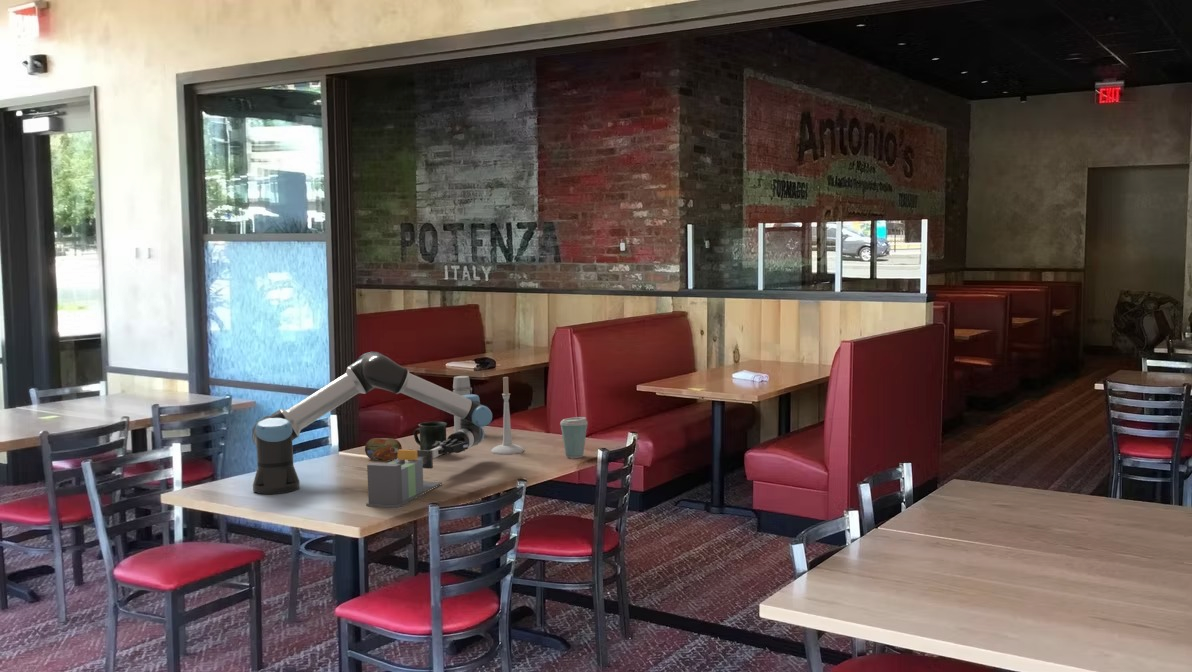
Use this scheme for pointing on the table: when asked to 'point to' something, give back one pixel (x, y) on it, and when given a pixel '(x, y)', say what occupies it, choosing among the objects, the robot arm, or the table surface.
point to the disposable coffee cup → (574, 436)
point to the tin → (382, 448)
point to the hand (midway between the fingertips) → (432, 453)
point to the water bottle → (460, 388)
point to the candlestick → (506, 427)
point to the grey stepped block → (396, 483)
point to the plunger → (424, 458)
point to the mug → (430, 434)
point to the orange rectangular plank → (407, 454)
